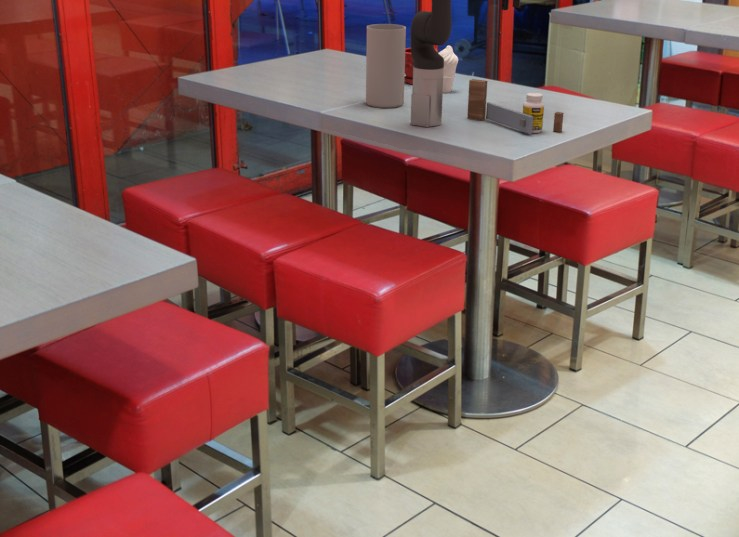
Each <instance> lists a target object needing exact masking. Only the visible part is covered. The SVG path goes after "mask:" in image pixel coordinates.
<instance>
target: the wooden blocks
mask: <svg viewBox="0 0 739 537" xmlns="http://www.w3.org/2000/svg"><path fill="white" fill-rule="evenodd" d="M468 83H469V84H468V98H467V99H468V100H467V101H468V102H467V115H466V116H467V119H468V120H475V121H485V120H486V111H487V96H488V94H487V93H488V80H484V79H483V80H482V79H477V78H475V79H474V78H472V79H469V81H468ZM553 118H554V119H553V129H552V132H553V131H556V132H555V133H561V132H563V123H564V112H561V111H556V112H554V117H553Z"/></svg>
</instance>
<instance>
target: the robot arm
mask: <svg viewBox="0 0 739 537" xmlns="http://www.w3.org/2000/svg"><path fill="white" fill-rule="evenodd" d="M500 4H501V5H500V9H501V10H502V11H509V8H510V7H509V4H510V0H501V3H500ZM512 7H513V8H520V7H521V0H512ZM452 22H453V21H452V0H431V11H427V10H421V11H418V12H417V13H416V14H415V15H414V16H413V18H412V21H411V24H410V48H411V56H412V60H413V84H412V92H411V96H410V98H411V102H410V125H413V126H419V127H425V128H429V127H436V126H440V125H441V124H442V120H443V119H442V118H443V100H444V99H443V98H444V96H443V95H444V93H443V77H444V58H443V57H442V56H441V55H440V54H438V53H439V52H438V53H437V52H436V50H435V49H436V48H435V46H438V47H440V46H444V45H445V44H446V43H447V42H448V41H449V39H450V36H451V32H452V26H453V24H452Z"/></svg>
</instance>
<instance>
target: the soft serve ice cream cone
mask: <svg viewBox="0 0 739 537" xmlns="http://www.w3.org/2000/svg"><path fill="white" fill-rule="evenodd" d="M438 54H440V55H441V56H442V57H443V58H444V77H443V94H445V93H446V94H449V93H451V92H452V89H453V86H454V83H455V82H454V81H455V78H456V70H457V65H458V63H459V57H458V56H457V55H456V54H455V53H454V49H453V46H451V45H447V46H446V47H445V48H444V49H442V50H440V51H438Z"/></svg>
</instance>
